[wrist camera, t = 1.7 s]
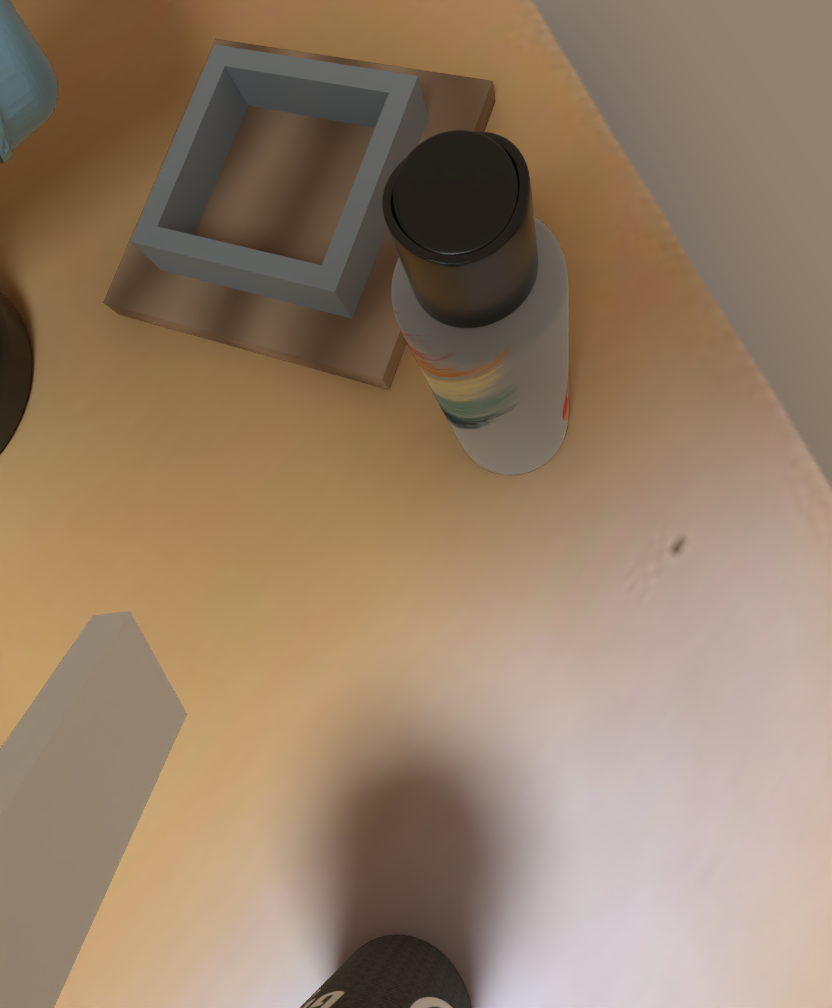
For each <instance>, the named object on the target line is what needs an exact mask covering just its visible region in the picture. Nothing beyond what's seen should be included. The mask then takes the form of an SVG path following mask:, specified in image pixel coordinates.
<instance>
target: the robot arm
mask: <svg viewBox="0 0 832 1008" xmlns="http://www.w3.org/2000/svg"><path fill="white" fill-rule="evenodd" d="M57 100H58V83H57V79H56V75H55V72H54V70H53V68H52V66H51V64H50V62H49V61H48V59H47V57H46V56H45V54H44V52H43V51H42V49H41V48H40V46H39V45H38V43H37V41H36V40H35V38H34V37H33V35H32V34H31V32H30V31H29V29H28V28H27V26H26V25H25V23H24V21H23V20H22V18H21V17H20V15H19V14H18V12H17V11H16V9H15V8H14V6H13V5H12V3H11V2H10V0H0V163H1V162H2V163H5V162H6V161H8V160H9V159H10V158H11V156H12V151H13V150H14V149H15V148H16V147H17V146H18V145H20V144H21V143H22V142H23V141H24V140H25V139H26V138H28V137H29V136H30V135H31V134H32V133H33V132H34V131H36V130H37V129H38V128H39V127H40V126H41V125H42V124H44V123H45V122H46V121H47V120H48V119H49V118H50V117H51V115H52V113H53V111H54V110H55V105H56V102H57ZM30 379H31V350H30V344H29V339H28V335H27V332H26V329H25V326H24V324H23V322H22V320H21V318H20V316H19V314H18V313H17V311H16V309H15V308H14V307H13V305H12V304H11V303H10V302H9V301H8V300H7V299H6V298H5V297H4V296H3V295H2V294H1V293H0V452H1V451H2V450H3V448H4V447H5V445H6V444H7V442H8V441H9V439H10V437H11V436H12V434H13V432H14V430H15V428H16V426H17V424H18V422H19V420H20V417H21V415H22V412H23V410H24V406H25V403H26V400H27V396H28V392H29V386H30ZM186 715H187V713H186V711H185V710H184V708H183V706H182V704H181V702H180V701H179V699H178V697H177V695H176V693H175V691H174V690H173V688H172V686H171V684H170V682H169V681H168V679H167V677H166V675H165V673H164V672H163V670H162V668H161V666H160V664H159V663H158V661H157V659H156V657H155V655H154V654H153V652H152V650H151V648H150V646H149V644H148V643H147V641H146V639H145V637H144V635H143V634H142V632H141V630H140V628H139V626H138V625H137V623H136V621H135V619H134V617H133V616H132V614H131V612H122V613H113V614H104V615H95V616H92V618H91V619H90V621H89V622H88V624H87V625H86V626H85V628H84V629H83V631H82V632H81V634H80V635H79V637H78V638H77V639H76V641H75V642H74V644H73V645H72V647H71V648H70V650H69V651H68V652H67V654H66V655H65V657H64V658H63V660H62V661H61V662H60V664H59V665H58V667H57V668H56V670H55V671H54V673H53V674H52V675H51V677H50V678H49V680H48V681H47V683H46V684H45V685H44V687H43V688H42V690H41V691H40V693H39V694H38V696H37V697H36V698H35V700H34V701H33V703H32V704H31V706H30V707H29V709H28V710H27V711H26V713H25V714H24V716H23V717H22V719H21V720H20V721H19V723H18V724H17V726H16V727H15V729H14V730H13V732H12V733H11V734H10V736H9V737H8V739H7V740H6V742H5V743H4V744H3V746H2V747H1V749H0V1008H54V1006H55V1004H56V1002H57V999H58V997H59V995H60V993H61V991H62V988H63V986H64V984H65V982H66V980H67V977H68V975H69V973H70V971H71V969H72V966H73V964H74V962H75V960H76V957H77V955H78V953H79V951H80V949H81V946H82V944H83V942H84V940H85V938H86V935H87V933H88V931H89V929H90V927H91V924H92V922H93V920H94V918H95V916H96V913H97V911H98V909H99V907H100V905H101V902H102V900H103V898H104V896H105V894H106V891H107V889H108V887H109V885H110V883H111V880H112V878H113V876H114V874H115V872H116V869H117V867H118V865H119V863H120V861H121V858H122V856H123V854H124V852H125V850H126V847H127V845H128V843H129V841H130V839H131V836H132V834H133V832H134V830H135V827H136V825H137V823H138V821H139V819H140V816H141V814H142V812H143V810H144V808H145V805H146V803H147V801H148V799H149V797H150V794H151V792H152V790H153V788H154V786H155V783H156V781H157V779H158V777H159V775H160V772H161V770H162V768H163V766H164V764H165V761H166V759H167V757H168V755H169V753H170V750H171V748H172V746H173V744H174V742H175V739H176V737H177V735H178V733H179V731H180V728H181V726H182V724H183V722H184V720H185V717H186Z"/></svg>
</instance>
